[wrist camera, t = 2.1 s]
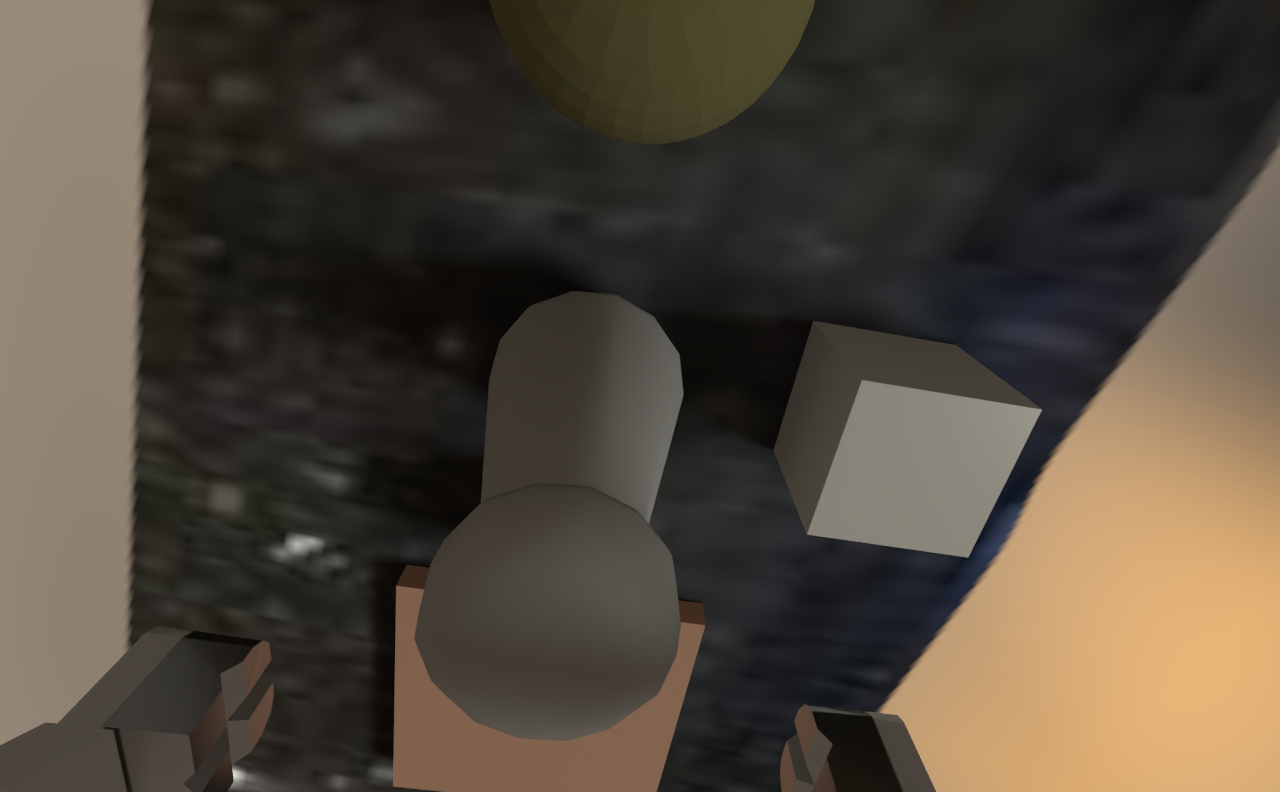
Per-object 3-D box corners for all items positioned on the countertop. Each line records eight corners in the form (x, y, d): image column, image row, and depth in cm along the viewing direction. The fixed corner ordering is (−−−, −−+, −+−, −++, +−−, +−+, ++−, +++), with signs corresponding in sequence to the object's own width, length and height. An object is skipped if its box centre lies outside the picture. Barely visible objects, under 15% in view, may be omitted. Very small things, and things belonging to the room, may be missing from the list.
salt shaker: (477, 382, 21) (286, 721, 10) (555, 238, 19) (434, 443, 8) (624, 458, 23) (613, 836, 11) (712, 330, 21) (814, 626, 9)
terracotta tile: (406, 564, 25) (396, 585, 24) (702, 603, 26) (705, 625, 25) (401, 761, 30) (393, 786, 29) (649, 787, 31) (650, 812, 30)
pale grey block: (812, 319, 21) (861, 380, 16) (954, 344, 21) (1041, 409, 17) (773, 449, 23) (807, 534, 18) (903, 469, 23) (968, 557, 19)
